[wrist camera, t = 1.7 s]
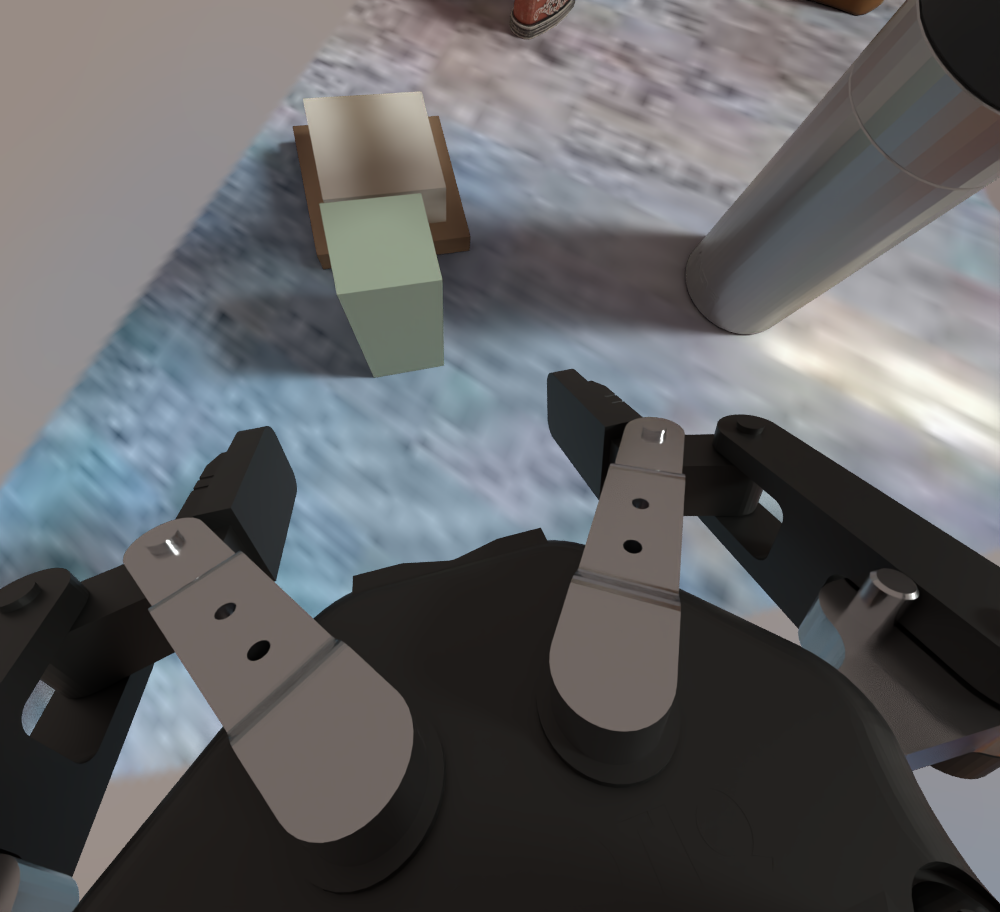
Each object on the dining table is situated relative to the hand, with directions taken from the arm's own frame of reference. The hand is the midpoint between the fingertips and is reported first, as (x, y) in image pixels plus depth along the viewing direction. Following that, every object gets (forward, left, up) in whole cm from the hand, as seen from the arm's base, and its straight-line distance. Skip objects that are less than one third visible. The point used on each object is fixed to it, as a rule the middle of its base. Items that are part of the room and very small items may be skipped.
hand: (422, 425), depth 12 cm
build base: (-1, -23, -16) cm, 28 cm away
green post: (0, -11, -16) cm, 20 cm away
